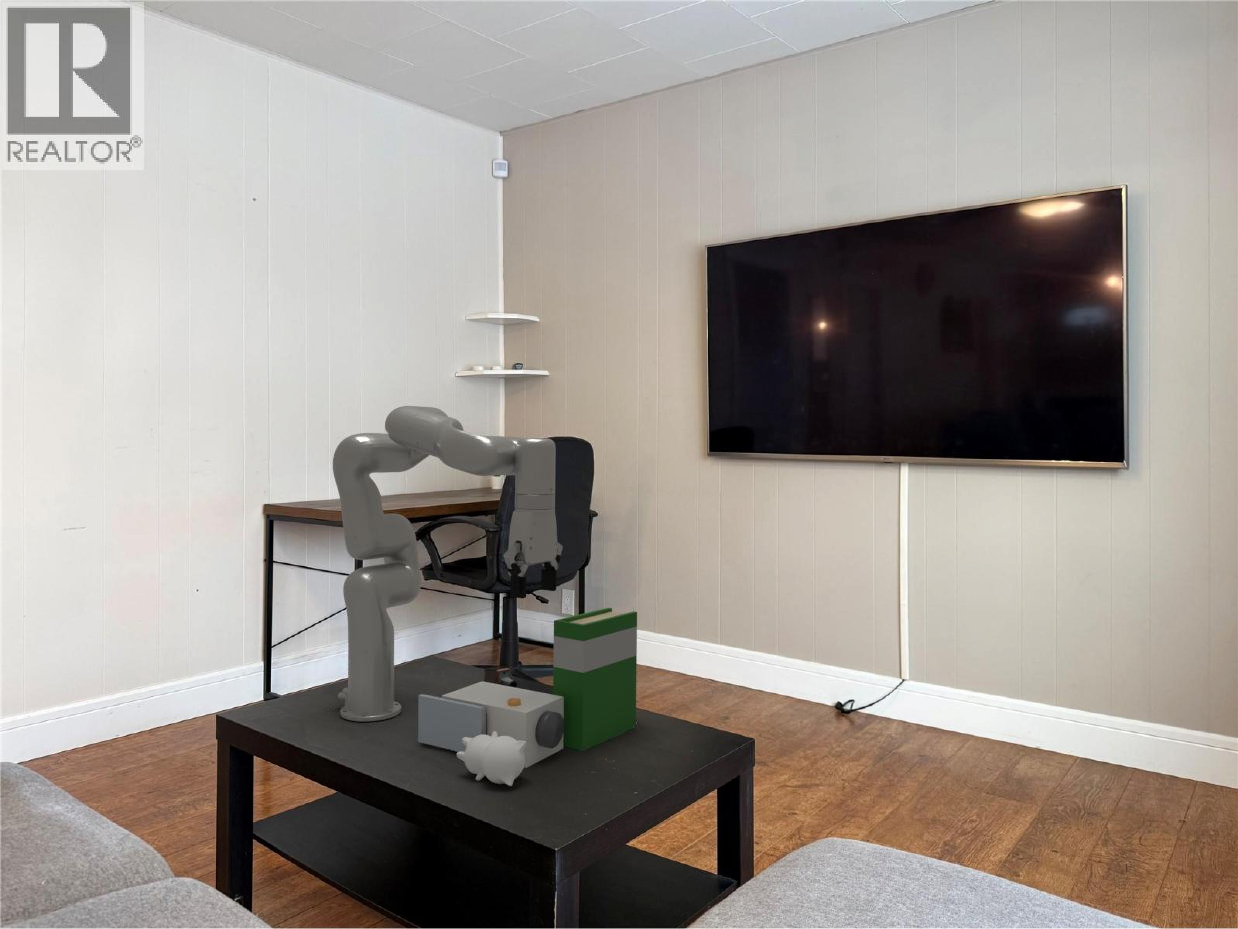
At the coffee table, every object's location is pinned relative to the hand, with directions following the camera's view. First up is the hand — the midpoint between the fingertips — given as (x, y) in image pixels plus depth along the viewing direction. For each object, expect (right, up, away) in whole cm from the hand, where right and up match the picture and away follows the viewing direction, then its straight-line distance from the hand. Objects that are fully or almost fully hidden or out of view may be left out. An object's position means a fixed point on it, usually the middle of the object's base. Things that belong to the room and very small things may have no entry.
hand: (533, 593), depth 167 cm
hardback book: (+11, -30, +10) cm, 34 cm away
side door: (-15, -29, 0) cm, 33 cm away
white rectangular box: (-6, -30, +2) cm, 31 cm away
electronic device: (-10, -29, +32) cm, 45 cm away
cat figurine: (-5, -31, -13) cm, 33 cm away
